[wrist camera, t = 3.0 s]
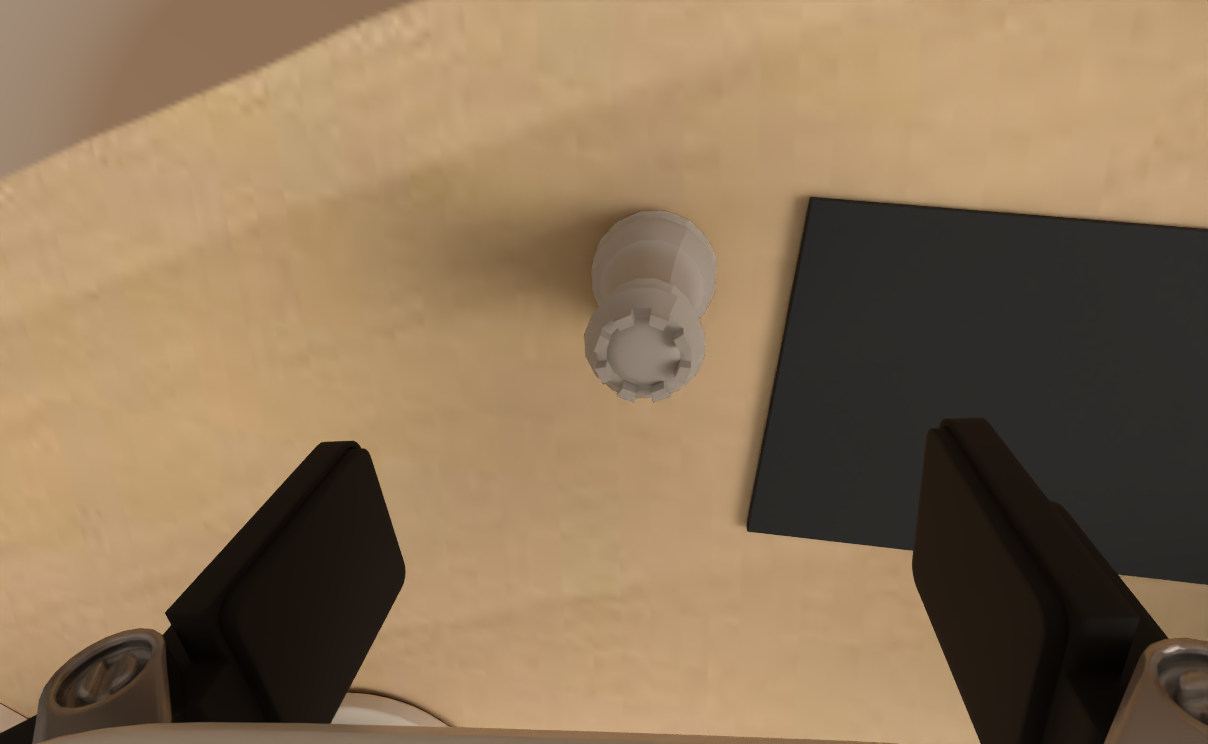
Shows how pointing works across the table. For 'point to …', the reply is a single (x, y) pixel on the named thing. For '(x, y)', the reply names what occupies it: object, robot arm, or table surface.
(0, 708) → the beige rectangular box
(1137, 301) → the desk mat
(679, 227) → the rook chess piece
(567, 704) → the table surface
